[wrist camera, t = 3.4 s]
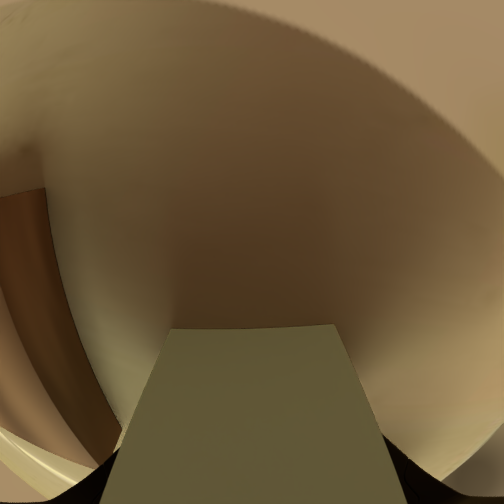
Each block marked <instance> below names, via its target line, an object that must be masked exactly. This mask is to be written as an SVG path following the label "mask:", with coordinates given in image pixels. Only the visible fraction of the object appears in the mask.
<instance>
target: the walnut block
mask: <svg viewBox="0 0 504 504" xmlns="http://www.w3.org/2000/svg"><path fill="white" fill-rule="evenodd" d="M0 426H1V427H3V428H4V429H6V430H8V431H9V432H11V433H13V434H15V435H16V436H18V437H20V438H22V439H24V440H26V441H28V442H30V443H32V444H34V445H36V446H38V447H40V448H42V449H44V450H46V451H48V452H51V453H53V454H55V455H58V456H60V457H62V458H65V459H67V460H70V461H72V462H75V463H78V464H80V465H83V466H86V467H89V468H92V469H95V470H96V469H97V468H98V467H99V466H100V465H101V464H103V462H105V461H106V460H107V459H108V458H109V457H110V456H111V455H112V454H113V451H114V449H115V446H116V444H117V441H118V439H119V436H120V434H121V432H122V428H121V427H120V425H119V423H118V421H117V420H116V418H115V416H114V414H113V412H112V410H111V409H110V407H109V405H108V403H107V401H106V399H105V397H104V395H103V393H102V391H101V389H100V386H99V384H98V382H97V380H96V378H95V376H94V373H93V371H92V369H91V367H90V364H89V362H88V359H87V357H86V354H85V352H84V349H83V347H82V344H81V342H80V339H79V336H78V334H77V331H76V328H75V325H74V322H73V319H72V316H71V313H70V310H69V307H68V303H67V300H66V297H65V293H64V290H63V286H62V282H61V278H60V274H59V270H58V266H57V262H56V257H55V252H54V248H53V243H52V237H51V232H50V226H49V219H48V212H47V205H46V196H45V188H40V189H36V190H31V191H27V192H22V193H18V194H14V195H10V196H6V197H2V198H0Z"/></svg>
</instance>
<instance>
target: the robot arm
mask: <svg viewBox="0 0 504 504" xmlns="http://www.w3.org/2000/svg"><path fill="white" fill-rule="evenodd" d="M381 434H382V433H381ZM382 436H383V439H384V442H385V444H386V447H387V449H388V452H389V454H390V457H391V460H392V462H393V465H394V468H395V471H396V473H397V476H398V479H399V482H400V484H401V487H402V490H403V493H404V496H405V499H406V502H407V504H504V497H480V496H479V497H478V496H468V495H464V494H461V493H459V492H457V491H455V490H453V489H452V488H450V487H448V486H447V485H445V484H443V483H442V482H440V481H439V480H437V479H436V478H434V477H433V476H431V475H430V474H428V473H427V472H425V471H424V470H423V469H422V468H420V467H419V466H418V465H417V464H415V463H414V462H413V461H412V460H411V459H408V457H407V456H406V455H405V454H404V453H403V452H402V451H400V450H399V449H398V448H397V447H396V446H395V445H394V444H393V443H391V442H390V441H389V440H388V439H387V438H386V437H385V436H384V435H383V434H382ZM119 449H120V448H119ZM119 449H118V450H117V451H115V452H114V453H113V454H112V455H111V456H110V457H109V458H108V459H107V460H106V461H105V462H103V464H101V465H100V466H99V467H98V468H97V469H96V470H94V471H93V472H92V473H91V474H90V475H88V476H87V477H86V478H84V479H83V480H82V481H80V482H79V483H77V484H76V485H74V486H73V487H71V488H70V489H68V490H67V491H65V492H63V493H62V494H60V495H59V496H57V497H55V498H53V499H51V500H48V501H44V502H31V503H30V502H29V503H7V502H0V504H99V503H100V501H101V498H102V495H103V492H104V489H105V486H106V484H107V481H108V478H109V475H110V473H111V470H112V467H113V465H114V462H115V460H116V457H117V454H118V452H119Z"/></svg>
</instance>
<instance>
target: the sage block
mask: <svg viewBox="0 0 504 504" xmlns="http://www.w3.org/2000/svg"><path fill="white" fill-rule="evenodd" d="M99 504H407V502H406V499H405V496H404V493H403V490H402V487H401V484H400V482H399V479H398V476H397V473H396V471H395V468H394V465H393V462H392V460H391V457H390V454H389V452H388V449H387V447H386V444H385V442H384V439H383V436H382V434H381V431H380V429H379V426H378V424H377V421H376V419H375V416H374V414H373V412H372V409H371V407H370V404H369V402H368V400H367V397H366V395H365V392H364V390H363V388H362V385H361V383H360V381H359V378H358V376H357V374H356V372H355V369H354V367H353V365H352V362H351V360H350V358H349V356H348V353H347V351H346V349H345V347H344V345H343V342H342V340H341V338H340V336H339V334H338V331H337V329H336V327H335V325H334V324H327V325H314V326H300V327H282V328H258V329H171V330H170V332H169V334H168V336H167V338H166V341H165V343H164V345H163V347H162V349H161V352H160V354H159V356H158V358H157V361H156V363H155V365H154V367H153V370H152V372H151V374H150V377H149V379H148V381H147V383H146V386H145V388H144V390H143V393H142V395H141V398H140V400H139V402H138V405H137V407H136V409H135V412H134V414H133V417H132V419H131V422H130V424H129V426H128V429H127V431H126V434H125V436H124V439H123V441H122V444H121V447H120V449H119V452H118V454H117V457H116V460H115V462H114V465H113V467H112V470H111V473H110V475H109V478H108V481H107V484H106V486H105V489H104V492H103V495H102V498H101V501H100V503H99Z"/></svg>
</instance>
